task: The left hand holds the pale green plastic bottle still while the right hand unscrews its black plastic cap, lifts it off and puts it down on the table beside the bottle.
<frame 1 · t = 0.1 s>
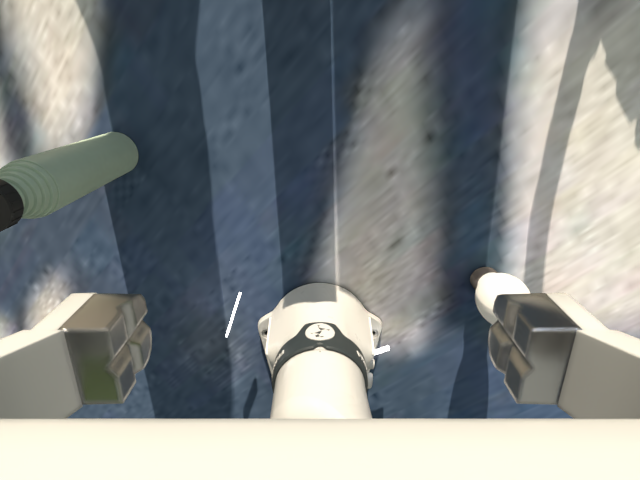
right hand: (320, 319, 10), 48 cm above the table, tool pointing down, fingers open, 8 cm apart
light bulb: (484, 276, 63), on the table
bottle: (117, 153, 56), on the table
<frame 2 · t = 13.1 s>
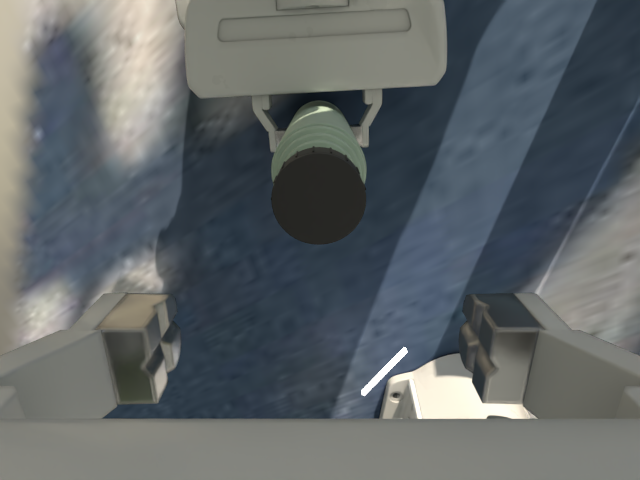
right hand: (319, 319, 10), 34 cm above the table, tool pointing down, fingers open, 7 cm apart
left hand: (320, 148, 37), fingers closed on bottle, 5 cm apart
cap: (318, 199, 19), point 24 cm above the table, screwed on, not yet turned
bottle: (319, 129, 42), on the table, touching left hand
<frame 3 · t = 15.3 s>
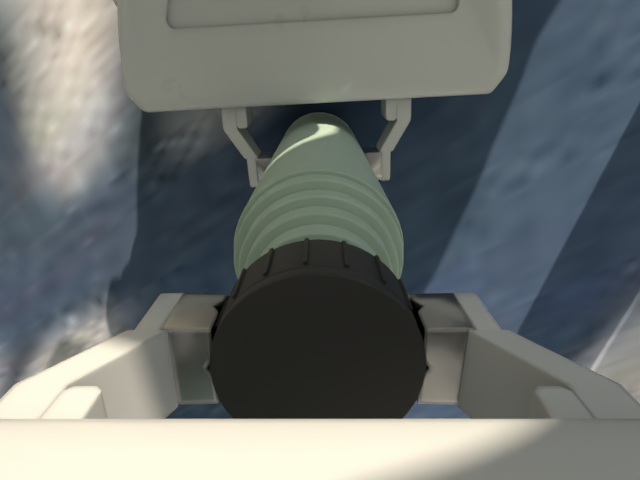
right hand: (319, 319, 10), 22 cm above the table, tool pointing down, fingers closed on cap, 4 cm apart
left hand: (320, 182, 26), fingers closed on bottle, 5 cm apart
cap: (318, 361, 9), point 24 cm above the table, screwed on, not yet turned, touching right hand
bottle: (319, 151, 31), on the table, touching left hand
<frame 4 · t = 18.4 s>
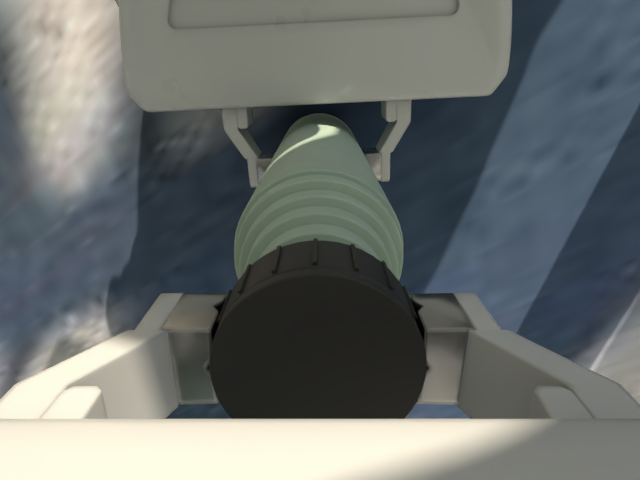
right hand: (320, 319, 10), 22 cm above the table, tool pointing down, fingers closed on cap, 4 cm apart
left hand: (320, 182, 26), fingers closed on bottle, 5 cm apart
cap: (318, 363, 9), point 24 cm above the table, turned 81° so far, risen 0.1 cm, still on its thread, touching right hand
bottle: (319, 152, 31), on the table, touching left hand
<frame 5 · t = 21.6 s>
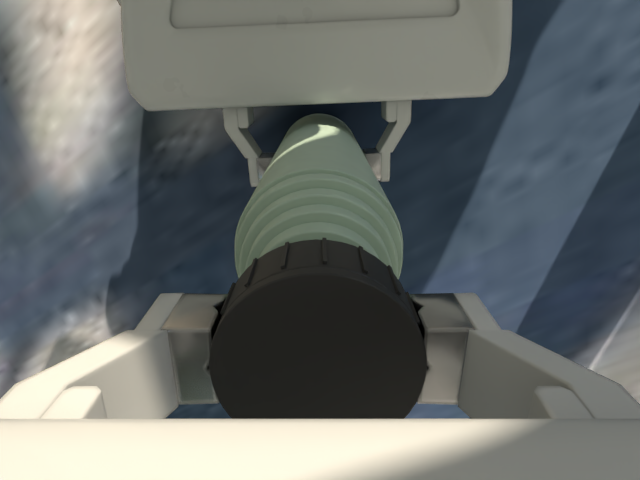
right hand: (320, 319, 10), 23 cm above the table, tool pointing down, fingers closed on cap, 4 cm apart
left hand: (320, 182, 26), fingers closed on bottle, 5 cm apart
cap: (318, 362, 9), point 24 cm above the table, turned 161° so far, risen 0.2 cm, still on its thread, touching right hand
bottle: (319, 152, 31), on the table, touching left hand
when the right hand's fingers open (2 cm above the table, at t = 34.7 s): cap drops 2 cm, point 1 cm above the table.
when the left hand's fingers open (5 cm above the table, at t = 35.9 s): bottle stays where it is, on the table.
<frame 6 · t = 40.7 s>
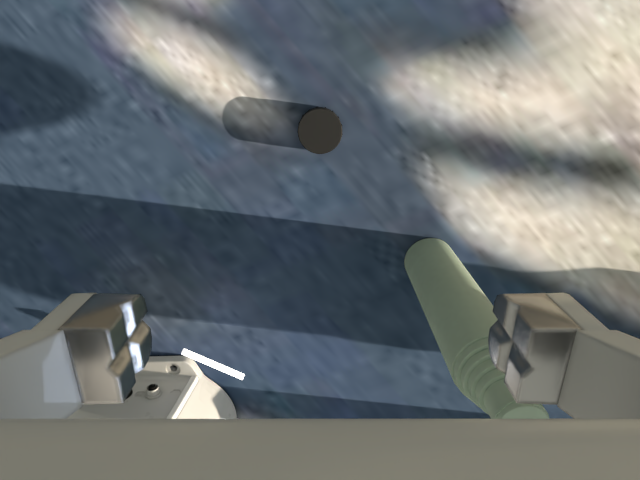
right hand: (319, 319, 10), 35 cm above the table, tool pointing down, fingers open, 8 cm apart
cap: (320, 131, 41), point 1 cm above the table, off its thread
bottle: (428, 260, 48), on the table
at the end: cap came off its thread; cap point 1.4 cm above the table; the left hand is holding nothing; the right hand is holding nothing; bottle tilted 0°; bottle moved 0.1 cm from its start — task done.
